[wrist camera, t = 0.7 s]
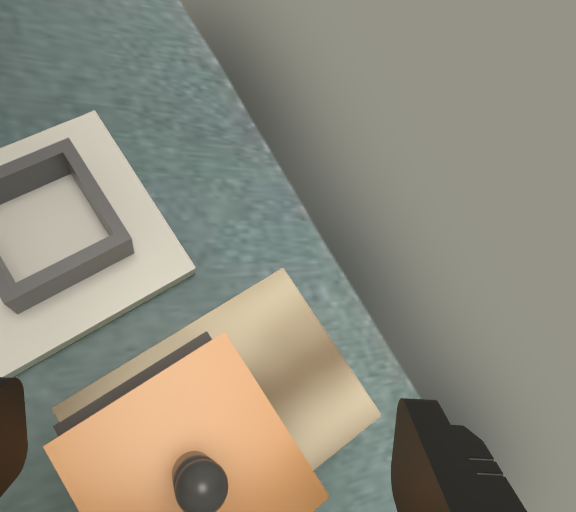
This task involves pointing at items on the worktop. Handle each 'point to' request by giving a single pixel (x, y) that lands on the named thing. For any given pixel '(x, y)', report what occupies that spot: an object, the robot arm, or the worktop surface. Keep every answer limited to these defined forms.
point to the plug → (188, 445)
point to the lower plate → (75, 241)
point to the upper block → (258, 368)
